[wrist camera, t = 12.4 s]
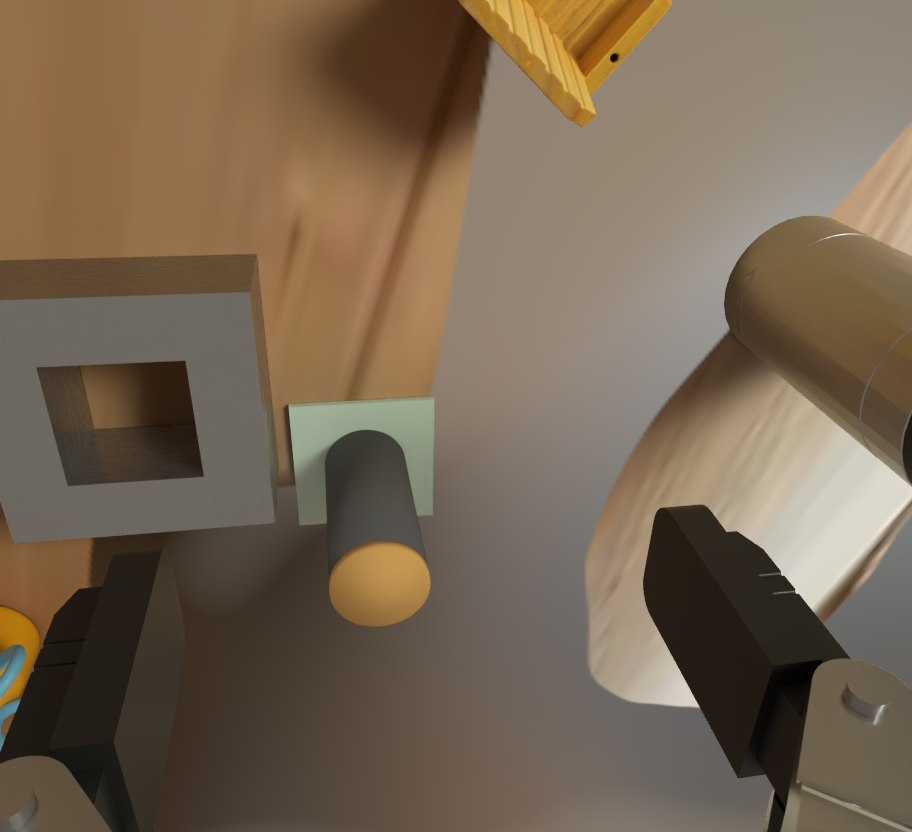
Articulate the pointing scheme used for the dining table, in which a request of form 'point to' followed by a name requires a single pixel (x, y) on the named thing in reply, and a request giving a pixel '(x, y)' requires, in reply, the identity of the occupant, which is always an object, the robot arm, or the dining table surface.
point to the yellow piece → (567, 42)
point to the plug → (373, 531)
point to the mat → (333, 420)
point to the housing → (139, 448)
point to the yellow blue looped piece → (14, 659)
